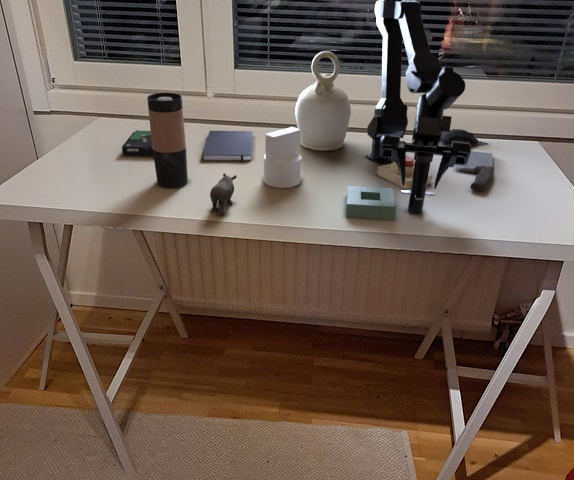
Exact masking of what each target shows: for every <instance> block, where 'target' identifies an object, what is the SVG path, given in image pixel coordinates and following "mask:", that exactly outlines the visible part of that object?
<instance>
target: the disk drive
mask: <svg viewBox="0 0 574 480" xmlns="http://www.w3.org/2000/svg"><path fill="white" fill-rule="evenodd" d="M121 150H122V156H130V157H132V156H133V157H154V155H153V148H152V139H151V130H139V129H137V130H134V131H132V133H131V134H130V135H129V137H128V138H127V139H126V141H125V142H124V143H123V144H122V146H121Z"/></svg>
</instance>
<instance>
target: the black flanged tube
mask: <svg viewBox="0 0 574 480" xmlns="http://www.w3.org/2000/svg"><path fill="white" fill-rule="evenodd" d="M413 158H414V161H415V165H414V171H413V178H412V184H411V188H410V189H401V190H400V193H401V194H402V195H409V199H408V205H407V213H408V214H411V215H421V214H422V213H423V210H424V204H425V198H426V196H431V197H432V196H433V197H435V195H436V194H435V191H427V187H428V184H427V181H428V175H429V174H430V168H431V163H432V162H433V160H434V155H433V154H432V153H430V152H426V151H418V152H415V153H414V155H413Z"/></svg>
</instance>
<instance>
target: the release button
mask: <svg viewBox="0 0 574 480" xmlns="http://www.w3.org/2000/svg"><path fill="white" fill-rule="evenodd" d="M414 161H415V160H414V157H413V156H409V155H406V167H412V166H413V164H414Z"/></svg>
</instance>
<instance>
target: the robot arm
mask: <svg viewBox="0 0 574 480" xmlns="http://www.w3.org/2000/svg"><path fill="white" fill-rule="evenodd" d="M421 13H422V6H421V2H420V1H418V0H376V1H375V4H374V14H375V18H376V19H375V21H376V23H375V24H376V27H377V28H378V31H379V32H380V34H381V36H382V51H381V52H382V54H381V55H382V56H381V62H382V63H381V92H380V93H381V95H380V99H379V101H378V102H377V104H376V106H375V108H374V112H373V117H372V119H371V120H370V122H369V123H368V124H367V127H366V128H367V129H366V131H367V133H366V135H367V136H368V137H369V138H371V139H372V141H371V142H372V143H371V152H370V154H366V158H367V159H369V160H372V161H374V162H375V163H377V164H380V165H385V164H389V163H392V162H393V161H394V162H396V164H397V167H398V169H399V172H400V177H401V181H402V185H404V183H405V172H406V156H407V153H411V154H415V152H418V151H426V152H430V153H432V154H433V156H440V157H441V159H440V163H439V166H438V170H437V173H436V177H435V180H434V184H433V190H436V189H437V187H438V185H439V184H440V182H441V180H442V178H443V176H444V174H445V173H446V172H447V171H448V169H449V168H455V164H456V165H466V164H467V162H468V159H469V157H470V154H471V151H472V146H471V144H470V143H469V142H461V141H453V142H452V145H451V146H447V145H445V146H444V145H440V143H441V142H440V140H441V135H442V134H443V133H449V131H450V130H451V124H452V119H453V118H452V116H450V115H444V111H445V110H447V109H449V108H451V106H453V104H454V103H455V102H456V101H457V100H458V99H459V98H460V97H461V96H462V95H463V94H464V92H465V90H466V81H465V80H464V79H463V77H462V75H460V74H459V73H457V72H455V71H454V67H453V66H443V67H442V64H441V62H440V59H438V57H436V56H435V55H434V54H433V53H432V51H431V49H430V45H429V41H428V37H427V33H426V29H425V25H424V22H423V18H422V15H421ZM403 44H404V47H405V48H404V49H405V51H406V56H407V60H408V66H407V69H406V71H405V85H406V88H407V89H408V91H409V93H412V94H421V95H420V97H418V98H417V99H418V100H417V104H416V106H415V109H416V112H415V113H416V114H415V117H414V126H413V130H412V138H411V142H406V141H405V140H401V139H404V137H405V134H406V130H407V128H408V124H409V120H408V109H409V108H408V105H407V104H406V103H404V102H403V100H402V97H401V91H402V88H401V87H402V62H403V60H402V59H403Z"/></svg>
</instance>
